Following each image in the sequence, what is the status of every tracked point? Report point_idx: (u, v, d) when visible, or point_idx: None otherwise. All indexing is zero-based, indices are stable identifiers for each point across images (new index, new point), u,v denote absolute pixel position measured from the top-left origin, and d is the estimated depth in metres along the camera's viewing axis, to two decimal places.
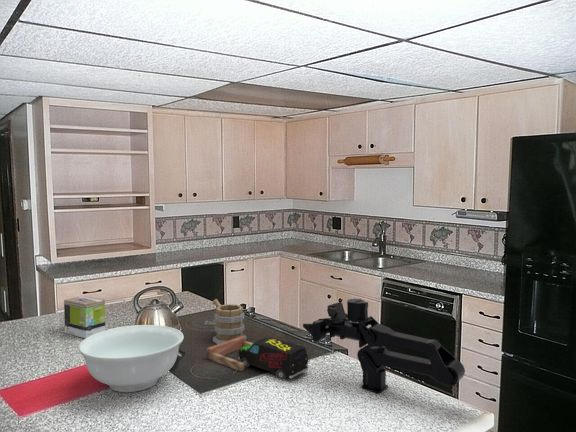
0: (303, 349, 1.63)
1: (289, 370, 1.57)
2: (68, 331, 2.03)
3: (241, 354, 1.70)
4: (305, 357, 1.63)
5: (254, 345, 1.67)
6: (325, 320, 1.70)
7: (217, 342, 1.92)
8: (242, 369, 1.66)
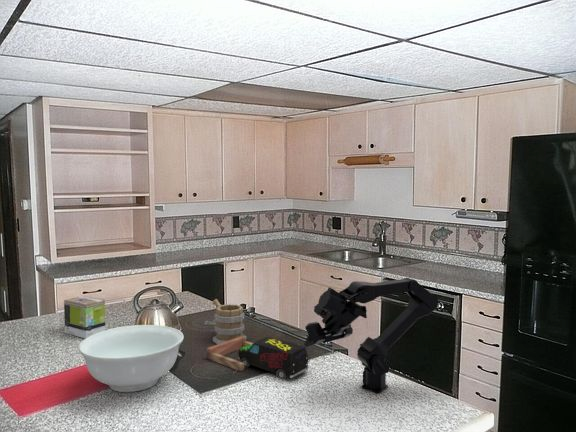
0: (303, 349, 1.63)
1: (290, 370, 1.57)
2: (68, 331, 2.03)
3: (241, 354, 1.70)
4: (305, 357, 1.63)
5: (254, 345, 1.67)
6: (327, 335, 1.59)
7: (217, 342, 1.92)
8: (242, 369, 1.66)
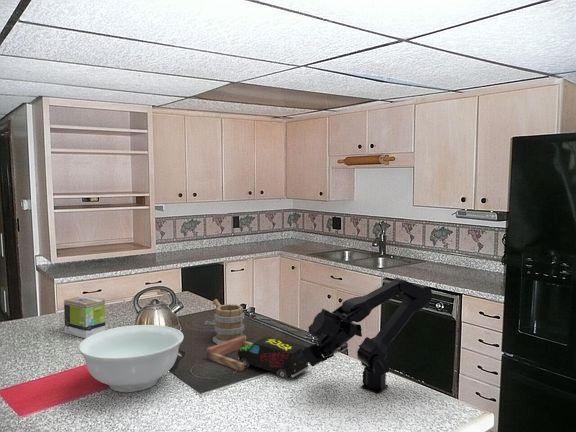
0: None
1: (291, 369, 1.58)
2: (68, 331, 2.03)
3: (241, 354, 1.70)
4: None
5: (254, 345, 1.67)
6: None
7: (217, 342, 1.92)
8: (242, 369, 1.66)
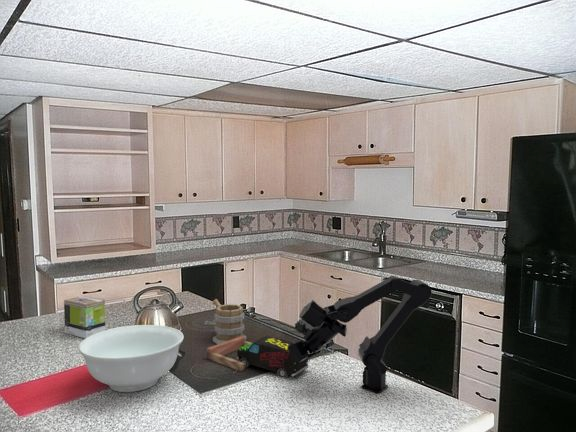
0: None
1: (291, 368, 1.58)
2: (68, 331, 2.03)
3: (240, 354, 1.70)
4: None
5: (254, 345, 1.67)
6: None
7: (217, 342, 1.92)
8: (242, 369, 1.66)
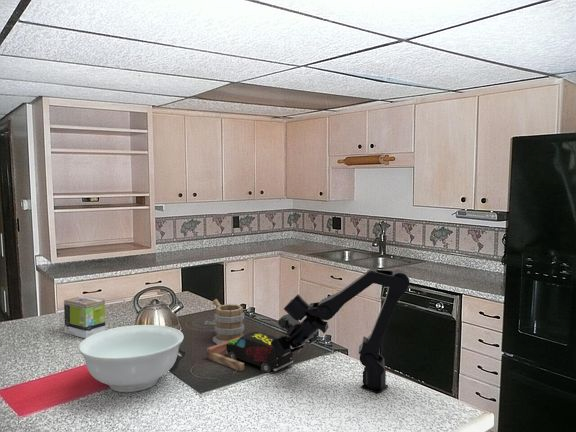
0: None
1: (273, 363, 1.63)
2: (68, 331, 2.03)
3: (229, 348, 1.76)
4: None
5: (241, 339, 1.73)
6: None
7: (217, 342, 1.92)
8: (242, 369, 1.66)
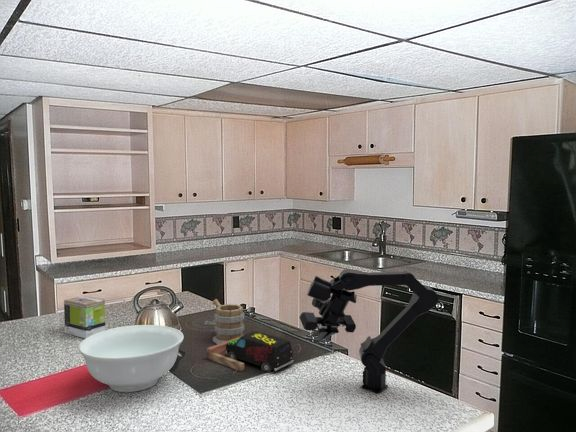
0: (288, 343, 1.69)
1: (274, 363, 1.63)
2: (68, 331, 2.03)
3: (228, 348, 1.76)
4: (290, 350, 1.69)
5: (241, 339, 1.73)
6: None
7: (217, 342, 1.92)
8: (242, 369, 1.66)
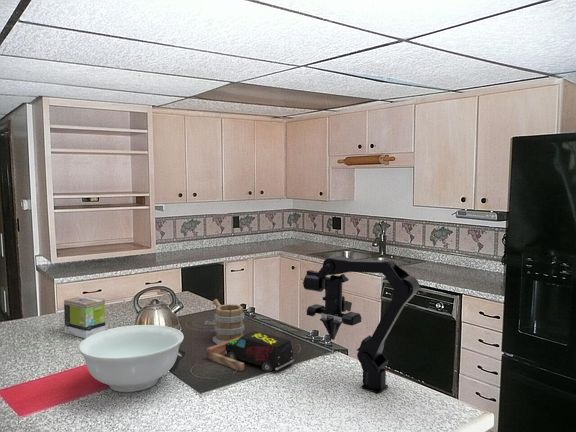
0: (288, 342, 1.70)
1: (275, 362, 1.63)
2: (68, 331, 2.03)
3: (228, 348, 1.76)
4: (290, 350, 1.70)
5: (241, 339, 1.73)
6: None
7: (217, 342, 1.92)
8: (242, 369, 1.66)
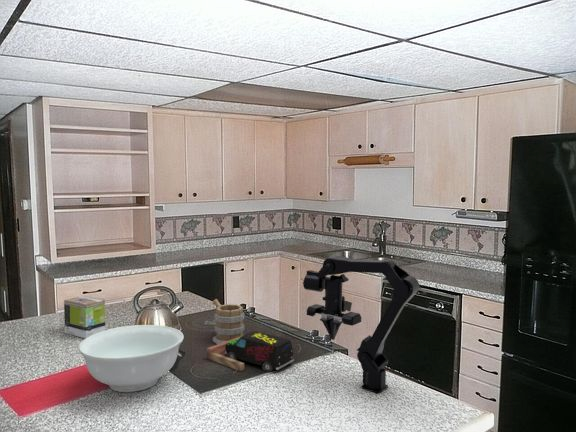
0: (288, 342, 1.70)
1: (276, 362, 1.64)
2: (68, 331, 2.03)
3: (228, 348, 1.76)
4: (290, 349, 1.70)
5: (241, 339, 1.73)
6: None
7: (217, 342, 1.92)
8: (242, 369, 1.66)
